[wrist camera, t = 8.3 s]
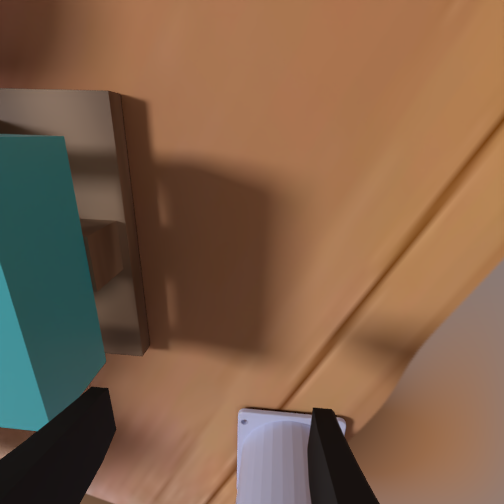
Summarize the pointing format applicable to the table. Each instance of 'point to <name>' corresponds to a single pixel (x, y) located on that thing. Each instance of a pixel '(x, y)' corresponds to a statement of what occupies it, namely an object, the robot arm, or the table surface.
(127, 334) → the stand
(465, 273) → the table surface
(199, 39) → the table surface
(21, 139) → the teal c-shaped bracket
